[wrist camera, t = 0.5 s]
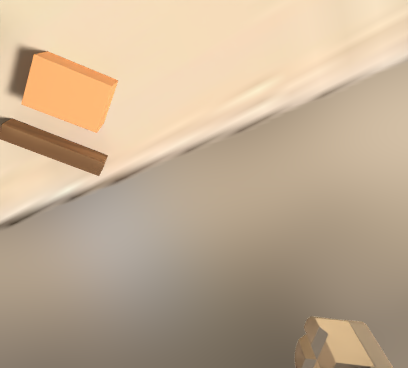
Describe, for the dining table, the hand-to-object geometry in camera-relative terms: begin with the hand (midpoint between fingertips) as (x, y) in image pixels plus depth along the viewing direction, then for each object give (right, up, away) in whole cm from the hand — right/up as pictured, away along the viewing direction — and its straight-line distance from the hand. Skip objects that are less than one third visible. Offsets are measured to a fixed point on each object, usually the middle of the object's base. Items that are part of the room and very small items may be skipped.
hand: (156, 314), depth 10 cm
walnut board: (-18, +9, +41) cm, 46 cm away
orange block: (-15, +16, +39) cm, 44 cm away
